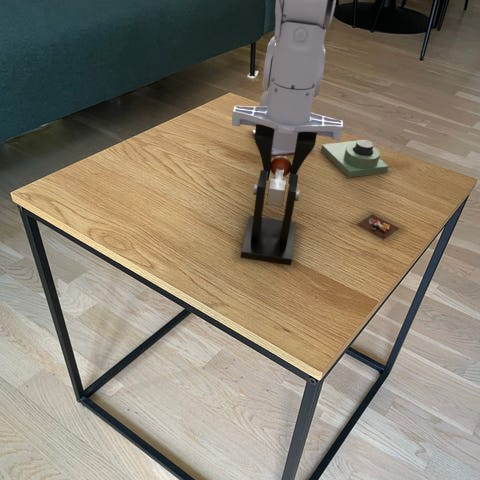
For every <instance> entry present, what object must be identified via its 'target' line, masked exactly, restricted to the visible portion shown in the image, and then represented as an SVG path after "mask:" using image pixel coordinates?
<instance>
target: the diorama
mask: <svg viewBox="0 0 480 480" xmlns="http://www.w3.org/2000/svg"><path fill="white" fill-rule="evenodd" d="M356 226H357V227H360V228H362V229H363V230H365V231H367V232H369V233H371V234H372V235H374V236H376V237H378V238H380V239H382V240H383V241H384V240H386V239H387V238H388V237H390V236H392V235H393V234H394V233H395V232H397V231H398V230H400V227H398V226H396V225H394V224H393V223H390V222H388V221H386V219H385V220H384V219H383V218H382V217H379V216H377V215H375V214H373V213H372V214H370V215H368V216H367V217H366V218H364V219H362V220H361V221H359V222H358V223H356Z"/></svg>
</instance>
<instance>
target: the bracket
mask: <svg viewBox="0 0 480 480" xmlns="http://www.w3.org/2000/svg"><path fill="white" fill-rule="evenodd" d="M267 177H268V171H267V170H263V169H260V172H259V177H258V181H257V183H254V184H253V190H252V195H253V196H255V199H254V201H255V202H254V210H253V215H249V216H248V219H247V224H246V229H245V232H244V237H243V241H242V245H241V250H240V258H243V259H248V260H256V261H261V262H268V263H275V264H282V265H288V266H291V265H292V262H293V256H294V247H295V237H296V236H295V235H296V228H297V221H292V218H293V214H294V213H293V212H294V207H295V202H299V199H300V194H301V193H300V192H301V191H300V189H298V182H299V181H298V180H299V174H296V175H295V174H291V176H290V182H289V184H288V188H287V194H286V199H285V200H286V201H285V204H284V205H285V206H284V211H283V218H282V219H278V218H277V219H276V218H270V217H263V214H264V207H265V199H266V192H267V185H268V184H267V183H268V181H267Z"/></svg>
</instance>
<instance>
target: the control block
mask: <svg viewBox="0 0 480 480" xmlns="http://www.w3.org/2000/svg"><path fill="white" fill-rule="evenodd" d="M357 141H358V140H349V141H341V142H332V143H326V144H322V145H321V148H320V152H321V153H323V154H324V155H325V157H327V159H329V161H331V162H332V163H333V164H334V166H336V167H337V168H338V170H340V171H341V172H342V173H343V174H344V175H345V176H346V177H347V178H355V177H361V176H362V177H364V176H371V175H377V174H383V173H387V172H388V170H389V165H388V164H387V163H386V162H385V161H383V160H382V159H381V158H380V157H381V152H380V150H379V149H378V148H376V147H375V146H373V150H372V153H371V155H370V156H362V155H358V154H356V153H355V152H354V150H355V146H356V142H357Z"/></svg>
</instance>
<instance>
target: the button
mask: <svg viewBox="0 0 480 480" xmlns="http://www.w3.org/2000/svg"><path fill="white" fill-rule="evenodd" d="M356 141H357V142H356V146H355V150H354V152H355V153H356V154H358V155H362V156H370V155H371V153H372V150H373V147H375V144H374V142H373V141H370V140H368V139H357V140H356Z"/></svg>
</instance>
